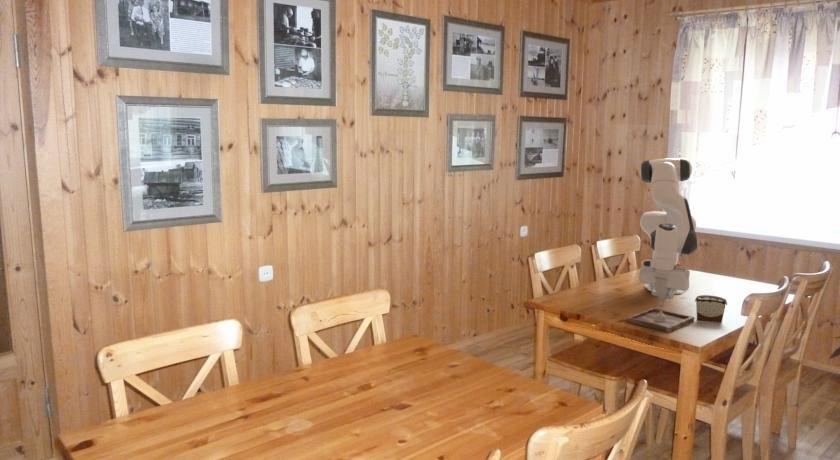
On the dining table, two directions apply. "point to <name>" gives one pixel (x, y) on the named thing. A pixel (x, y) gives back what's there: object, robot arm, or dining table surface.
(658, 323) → the serving tray
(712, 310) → the food container
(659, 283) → the chalice
